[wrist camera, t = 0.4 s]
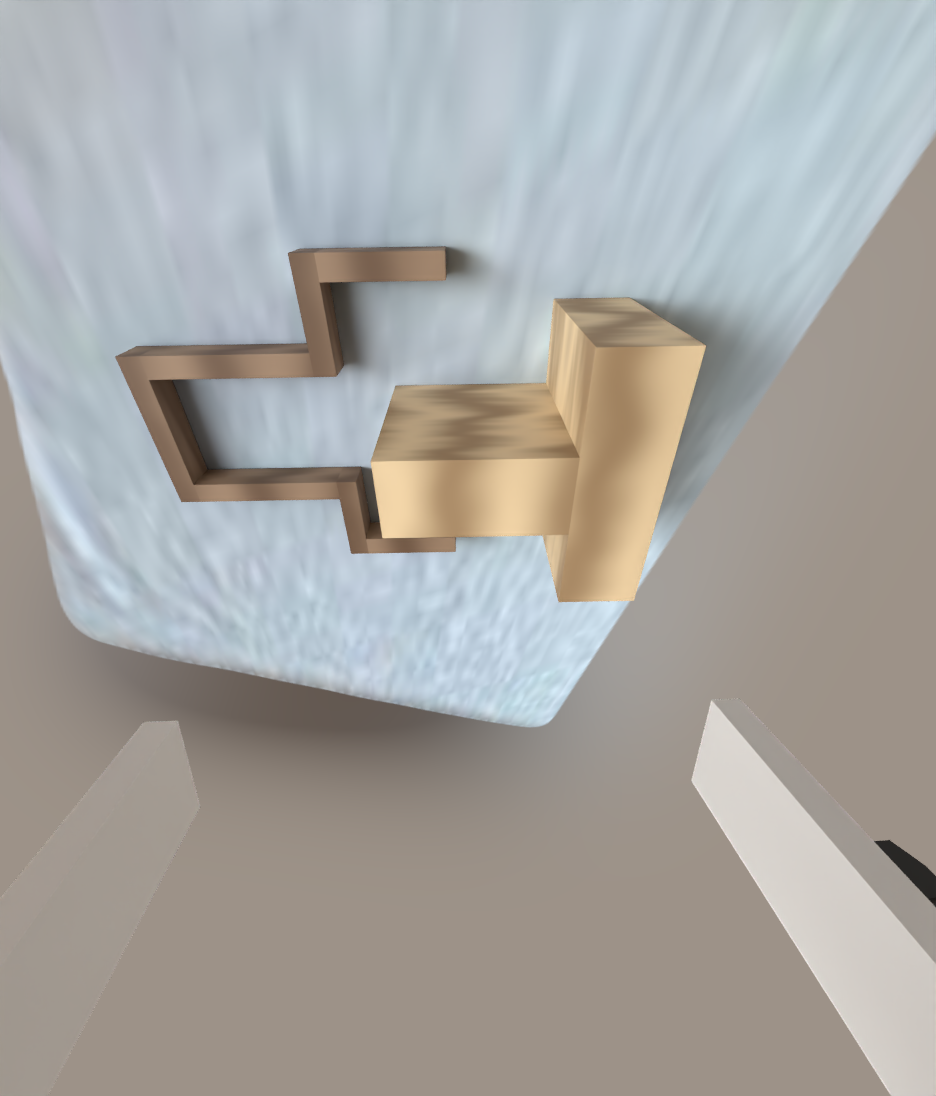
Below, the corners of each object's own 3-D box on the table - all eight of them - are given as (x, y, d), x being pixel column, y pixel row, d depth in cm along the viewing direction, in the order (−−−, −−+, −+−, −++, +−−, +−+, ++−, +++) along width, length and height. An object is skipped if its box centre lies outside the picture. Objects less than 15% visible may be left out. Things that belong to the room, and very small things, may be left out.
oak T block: (629, 297, 31) (706, 345, 21) (592, 503, 40) (633, 600, 31) (386, 301, 31) (353, 351, 21) (408, 507, 40) (392, 605, 31)
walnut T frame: (445, 246, 29) (444, 250, 27) (455, 534, 42) (455, 551, 40) (96, 252, 29) (69, 256, 27) (218, 539, 42) (206, 556, 40)
